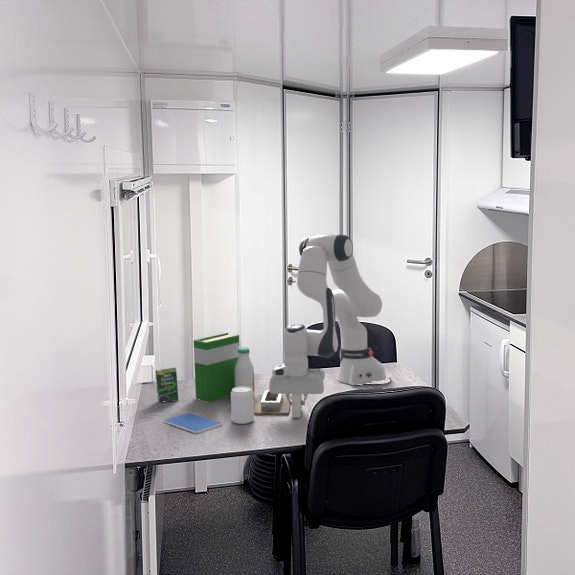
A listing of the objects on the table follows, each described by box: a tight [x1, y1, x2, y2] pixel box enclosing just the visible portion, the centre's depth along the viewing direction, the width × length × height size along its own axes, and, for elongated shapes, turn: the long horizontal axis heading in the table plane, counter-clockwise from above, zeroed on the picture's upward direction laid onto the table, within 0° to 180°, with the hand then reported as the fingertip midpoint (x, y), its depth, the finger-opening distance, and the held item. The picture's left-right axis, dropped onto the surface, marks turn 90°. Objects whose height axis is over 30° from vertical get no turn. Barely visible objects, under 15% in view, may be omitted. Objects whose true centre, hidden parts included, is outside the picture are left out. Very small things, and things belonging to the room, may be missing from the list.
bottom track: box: [261, 390, 284, 410], centre depth 288 cm, size 7×15×3 cm, turn 176°
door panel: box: [291, 394, 303, 419], centre depth 277 cm, size 3×10×8 cm, turn 176°
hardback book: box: [193, 332, 241, 403], centre depth 301 cm, size 18×7×24 cm, turn 137°
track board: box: [254, 394, 292, 416], centre depth 288 cm, size 14×22×1 cm, turn 176°
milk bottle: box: [235, 346, 255, 398], centre depth 298 cm, size 8×8×20 cm
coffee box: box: [155, 367, 179, 403], centre depth 295 cm, size 8×3×13 cm, turn 110°
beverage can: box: [230, 386, 255, 425], centre depth 270 cm, size 8×8×12 cm
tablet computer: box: [162, 412, 223, 434], centre depth 269 cm, size 19×13×1 cm, turn 46°
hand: (296, 404), depth 277 cm, fingers closed on door panel, 3 cm apart
